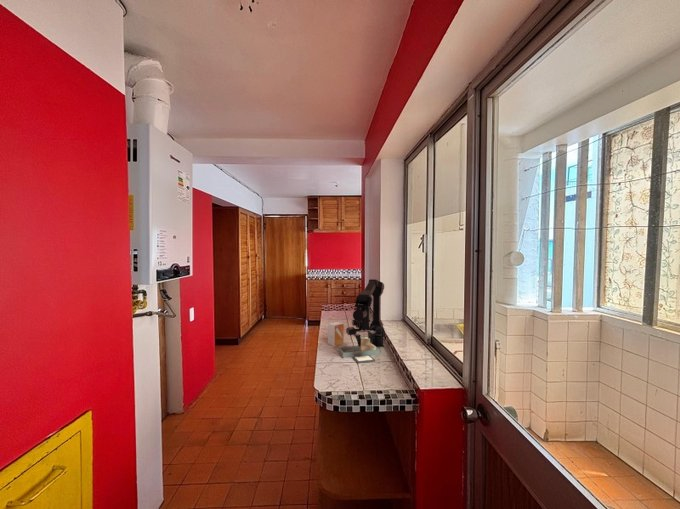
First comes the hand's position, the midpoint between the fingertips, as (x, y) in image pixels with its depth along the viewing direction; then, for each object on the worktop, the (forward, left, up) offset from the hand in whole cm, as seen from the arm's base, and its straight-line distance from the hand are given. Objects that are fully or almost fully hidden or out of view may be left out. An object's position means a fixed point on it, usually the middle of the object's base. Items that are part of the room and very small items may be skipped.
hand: (363, 346), depth 165 cm
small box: (+7, -31, -8) cm, 33 cm away
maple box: (-8, -11, -8) cm, 16 cm away
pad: (0, 0, -8) cm, 8 cm away
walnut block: (0, 0, -2) cm, 2 cm away
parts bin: (-1, -11, -8) cm, 14 cm away
